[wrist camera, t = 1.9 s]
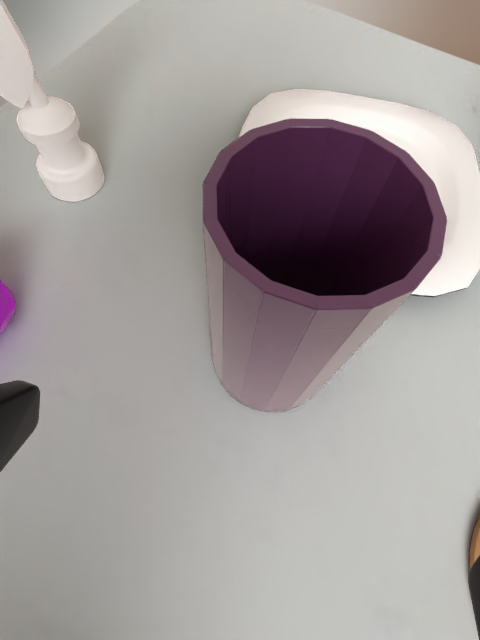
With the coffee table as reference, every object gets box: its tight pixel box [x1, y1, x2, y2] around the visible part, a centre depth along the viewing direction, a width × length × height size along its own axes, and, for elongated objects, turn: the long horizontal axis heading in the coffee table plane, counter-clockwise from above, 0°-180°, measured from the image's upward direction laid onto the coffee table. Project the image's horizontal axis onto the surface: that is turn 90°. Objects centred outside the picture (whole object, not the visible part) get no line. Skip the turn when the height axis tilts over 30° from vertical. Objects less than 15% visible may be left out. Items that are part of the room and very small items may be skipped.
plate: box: [239, 88, 480, 297], centre depth 27 cm, size 18×18×2 cm
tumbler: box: [203, 118, 447, 412], centre depth 16 cm, size 7×7×13 cm
